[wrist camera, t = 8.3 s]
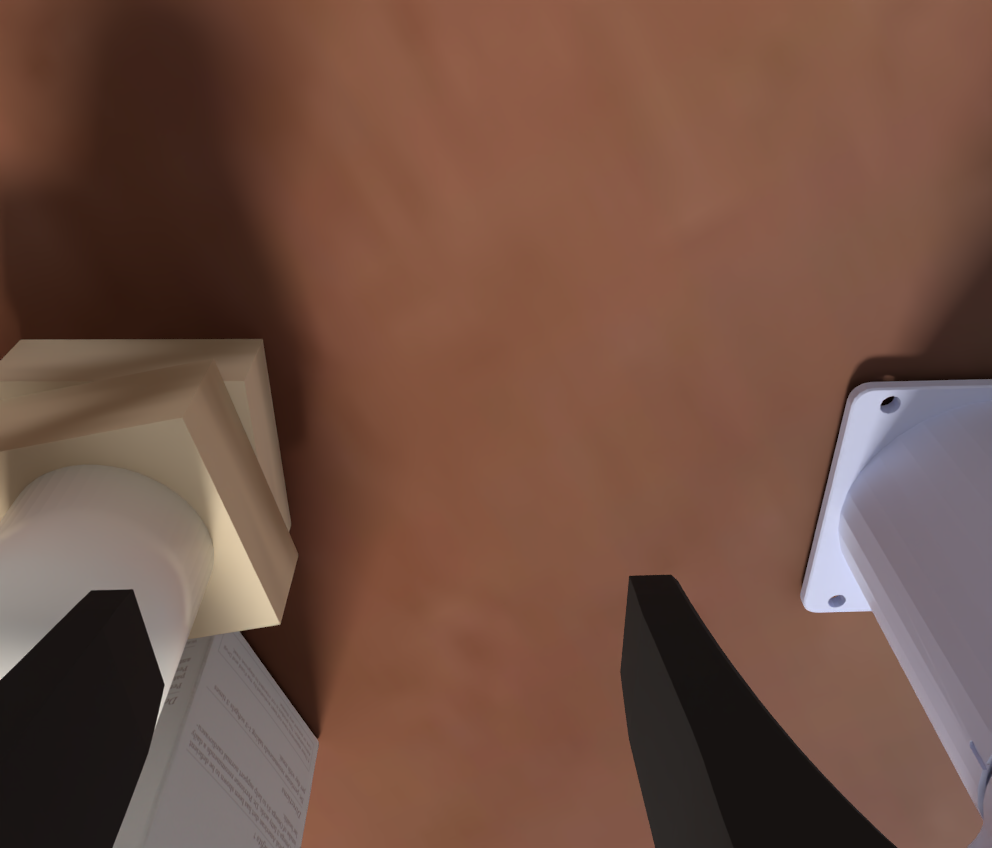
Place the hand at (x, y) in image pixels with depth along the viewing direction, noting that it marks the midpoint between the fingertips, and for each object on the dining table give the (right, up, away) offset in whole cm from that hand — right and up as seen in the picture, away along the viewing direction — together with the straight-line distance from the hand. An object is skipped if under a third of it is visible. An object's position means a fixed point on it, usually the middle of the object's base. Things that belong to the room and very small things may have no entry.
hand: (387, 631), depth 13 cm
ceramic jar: (-7, 0, +7) cm, 10 cm away
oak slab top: (-7, +2, +9) cm, 11 cm away
